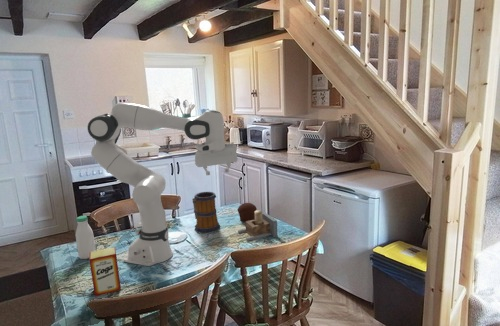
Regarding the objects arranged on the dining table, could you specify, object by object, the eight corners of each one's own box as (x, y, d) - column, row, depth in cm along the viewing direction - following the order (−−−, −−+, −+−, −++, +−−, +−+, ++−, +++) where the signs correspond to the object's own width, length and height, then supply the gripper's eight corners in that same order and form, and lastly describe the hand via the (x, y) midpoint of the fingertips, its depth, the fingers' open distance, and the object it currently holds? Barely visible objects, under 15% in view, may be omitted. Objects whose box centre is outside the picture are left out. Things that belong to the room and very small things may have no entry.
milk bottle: (99, 254, 167) (94, 215, 162) (85, 261, 160) (79, 221, 156) (89, 250, 170) (84, 213, 166) (75, 257, 164) (69, 218, 160)
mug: (185, 226, 196) (182, 193, 192) (205, 219, 206) (203, 187, 201) (204, 236, 182) (201, 200, 178) (225, 228, 192) (223, 194, 187)
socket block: (253, 238, 177) (252, 227, 175) (246, 231, 185) (245, 221, 183) (270, 234, 181) (269, 223, 179) (262, 228, 189) (262, 218, 187)
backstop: (249, 243, 171) (248, 226, 169) (236, 230, 187) (235, 215, 185) (277, 236, 177) (277, 220, 175) (262, 225, 193) (261, 210, 192)
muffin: (249, 214, 210) (248, 199, 208) (261, 219, 202) (260, 203, 200) (233, 219, 203) (233, 204, 201) (245, 225, 195) (244, 208, 193)
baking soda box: (119, 281, 141) (115, 246, 138) (121, 289, 135) (115, 252, 132) (95, 287, 137) (89, 251, 134) (95, 296, 131) (89, 258, 128)
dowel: (254, 230, 181) (254, 213, 179) (255, 227, 185) (255, 210, 182) (262, 230, 180) (261, 213, 178) (263, 227, 184) (262, 210, 182)
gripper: (233, 141, 166) (235, 169, 169) (192, 146, 158) (195, 175, 161) (238, 143, 160) (240, 172, 163) (196, 148, 152) (198, 178, 155)
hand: (217, 173), depth 162 cm, fingers open, 8 cm apart
